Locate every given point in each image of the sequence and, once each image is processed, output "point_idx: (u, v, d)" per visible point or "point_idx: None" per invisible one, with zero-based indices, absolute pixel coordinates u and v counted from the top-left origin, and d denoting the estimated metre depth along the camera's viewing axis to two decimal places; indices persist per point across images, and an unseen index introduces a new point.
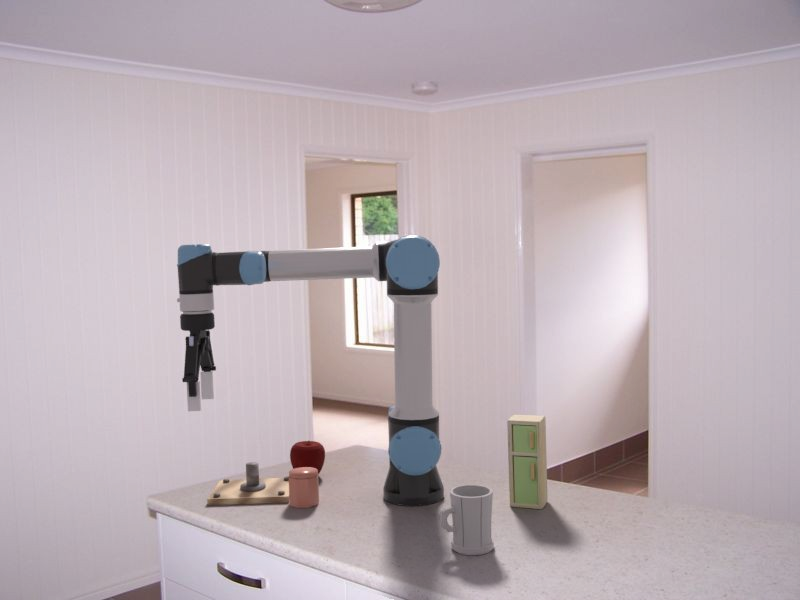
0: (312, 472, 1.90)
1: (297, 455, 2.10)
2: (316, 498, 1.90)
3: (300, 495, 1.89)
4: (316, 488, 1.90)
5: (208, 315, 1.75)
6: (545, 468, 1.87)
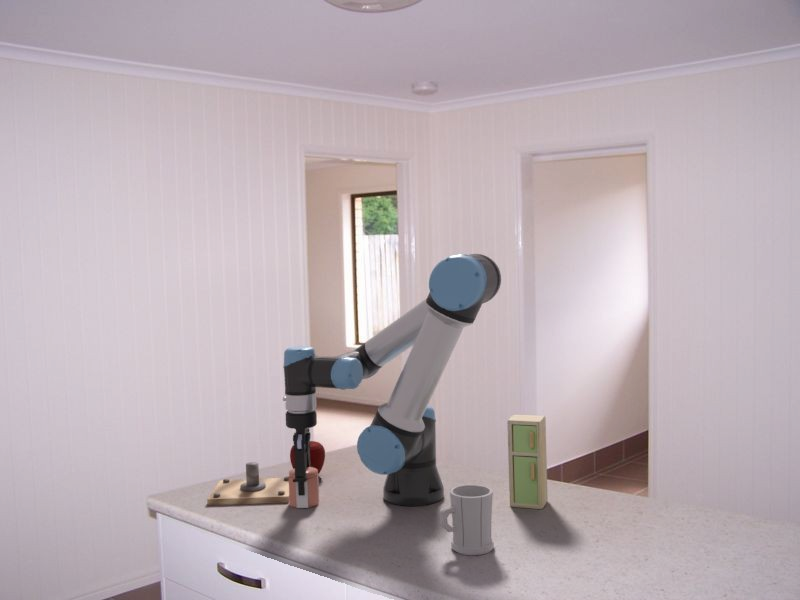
0: (312, 472, 1.90)
1: None
2: (316, 498, 1.90)
3: None
4: (316, 488, 1.90)
5: (312, 414, 1.89)
6: (545, 468, 1.87)
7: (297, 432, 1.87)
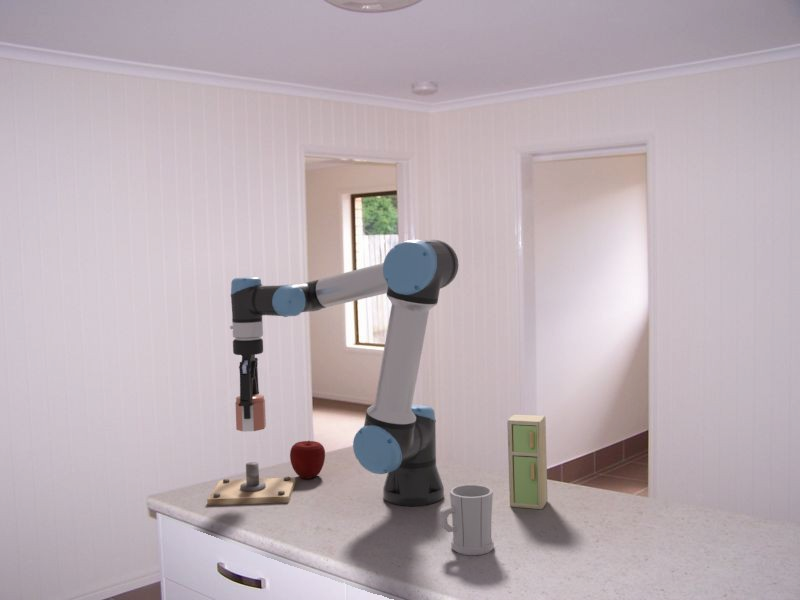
0: (258, 398, 1.98)
1: (297, 455, 2.10)
2: (262, 423, 1.98)
3: None
4: (262, 413, 1.98)
5: (258, 341, 1.96)
6: (545, 468, 1.87)
7: (243, 358, 1.95)
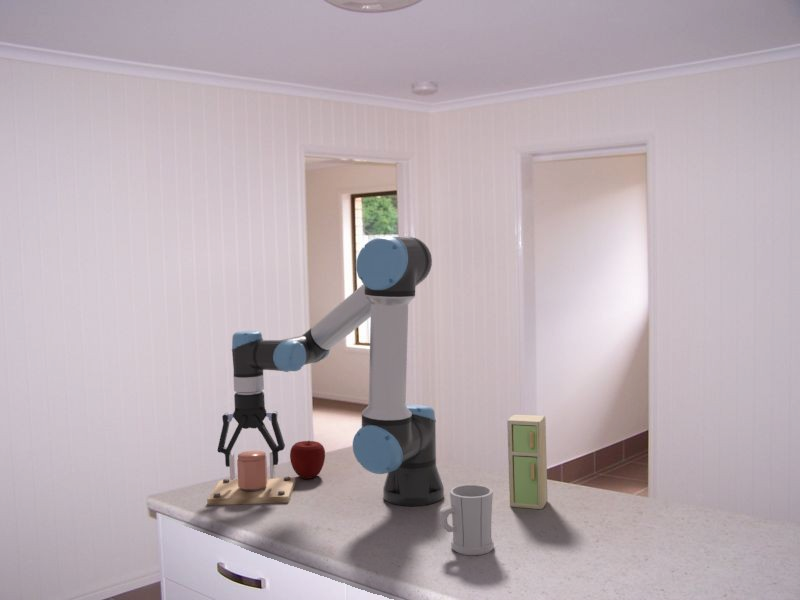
0: (244, 456, 1.98)
1: (297, 455, 2.10)
2: (243, 482, 1.97)
3: None
4: (243, 473, 1.97)
5: (238, 396, 1.96)
6: (545, 468, 1.87)
7: None
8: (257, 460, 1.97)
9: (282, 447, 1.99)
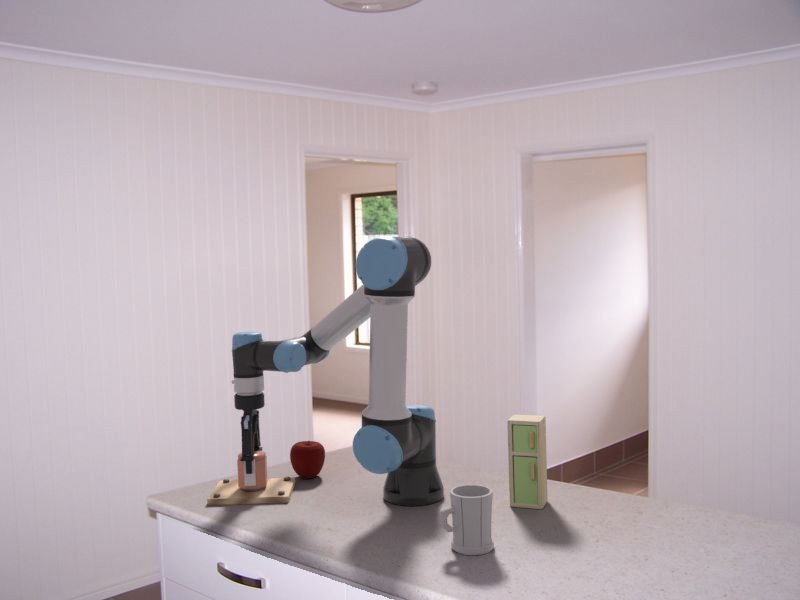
0: None
1: (297, 455, 2.10)
2: (243, 482, 1.97)
3: None
4: (243, 473, 1.97)
5: (259, 396, 1.97)
6: (545, 468, 1.87)
7: (245, 413, 1.96)
8: (257, 460, 1.97)
9: None
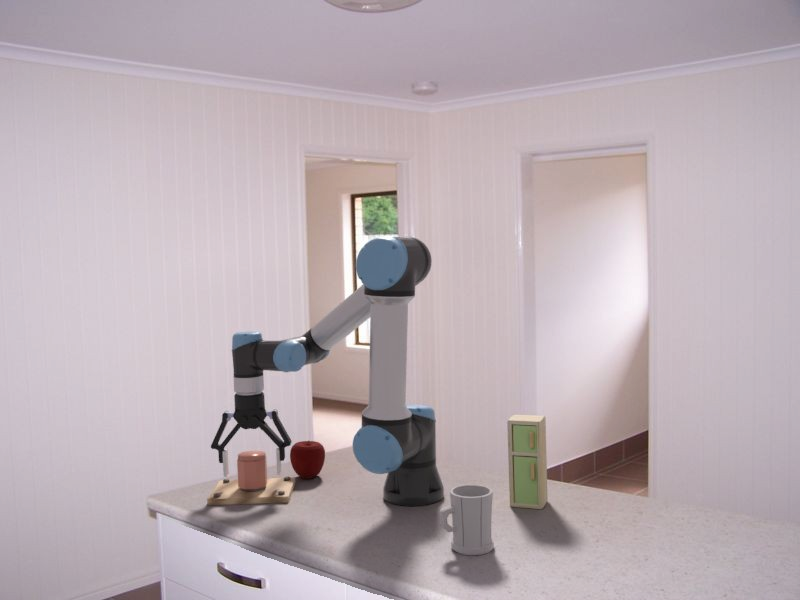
0: (243, 453, 2.02)
1: (297, 455, 2.10)
2: None
3: None
4: None
5: (238, 397, 1.96)
6: (545, 468, 1.87)
7: None
8: (238, 459, 1.98)
9: (289, 443, 1.99)
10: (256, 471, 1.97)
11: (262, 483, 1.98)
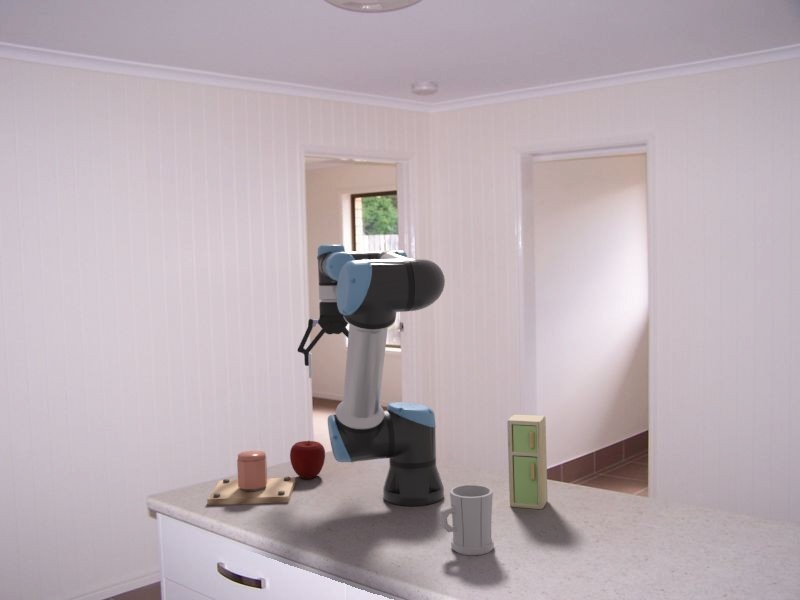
0: (243, 453, 2.02)
1: (297, 455, 2.10)
2: None
3: None
4: None
5: (324, 303, 2.13)
6: (545, 468, 1.87)
7: None
8: (238, 459, 1.98)
9: None
10: (256, 471, 1.97)
11: (262, 483, 1.98)
